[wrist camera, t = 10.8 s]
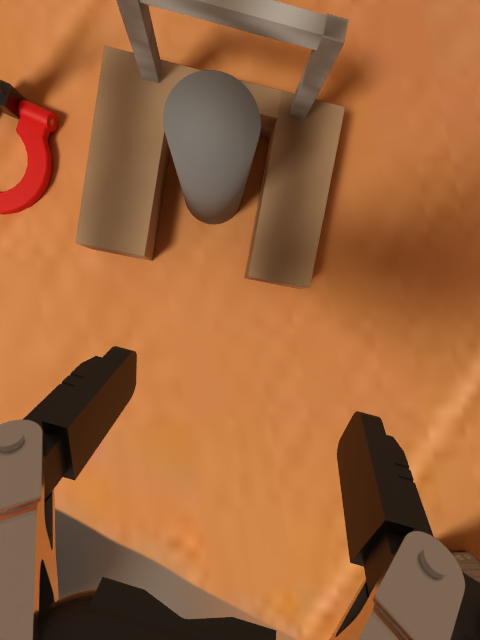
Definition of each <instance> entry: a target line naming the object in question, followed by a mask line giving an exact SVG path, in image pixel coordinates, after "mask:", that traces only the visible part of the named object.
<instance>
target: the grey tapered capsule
mask: <svg viewBox="0 0 480 640" xmlns="http://www.w3.org/2000/svg"><path fill="white" fill-rule="evenodd" d="M163 126H164V131H165V135H166V138H167V142H168V145H169V148H170V152H171V155H172V158H173V162H174V165H175V168H176V172H177V175H178V178H179V182H180V185H181V188H182V192H183V195H184V198H185V202H186V205H187V207H188V209H189V211H190V212H191V214H192V215H193V216H194V217H195V218H197V219H198V220H200V221H202V222H204V223H207V224H220V223H224V222H226V221H228V220H229V219H231V218H232V217H233V216H234V215H235V213H236V212H237V210H238V209H239V206H240V203H241V199H242V196H243V192H244V189H245V185H246V182H247V178H248V175H249V171H250V168H251V164H252V161H253V157H254V154H255V150H256V147H257V143H258V140H259V136H260V130H261V118H260V112H259V108H258V105H257V103H256V100H255V99H254V97H253V95H252V94H251V92H250V91H249V89H248V88H247V87H246V86H245V85H244V84H243V83H242V82H240V81H239V80H238V79H236V78H235V77H233V76H231V75H229V74H227V73H224V72H220V71H215V70H204V71H199V72H195V73H192V74H190V75H188V76H186V77H184V78H183V79H182V80H180V81H179V82H178V83H177V84H176V85H175V86H174V88H173V89H172V90H171V92H170V93H169V95H168V97H167V100H166V102H165V106H164V111H163Z"/></svg>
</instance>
